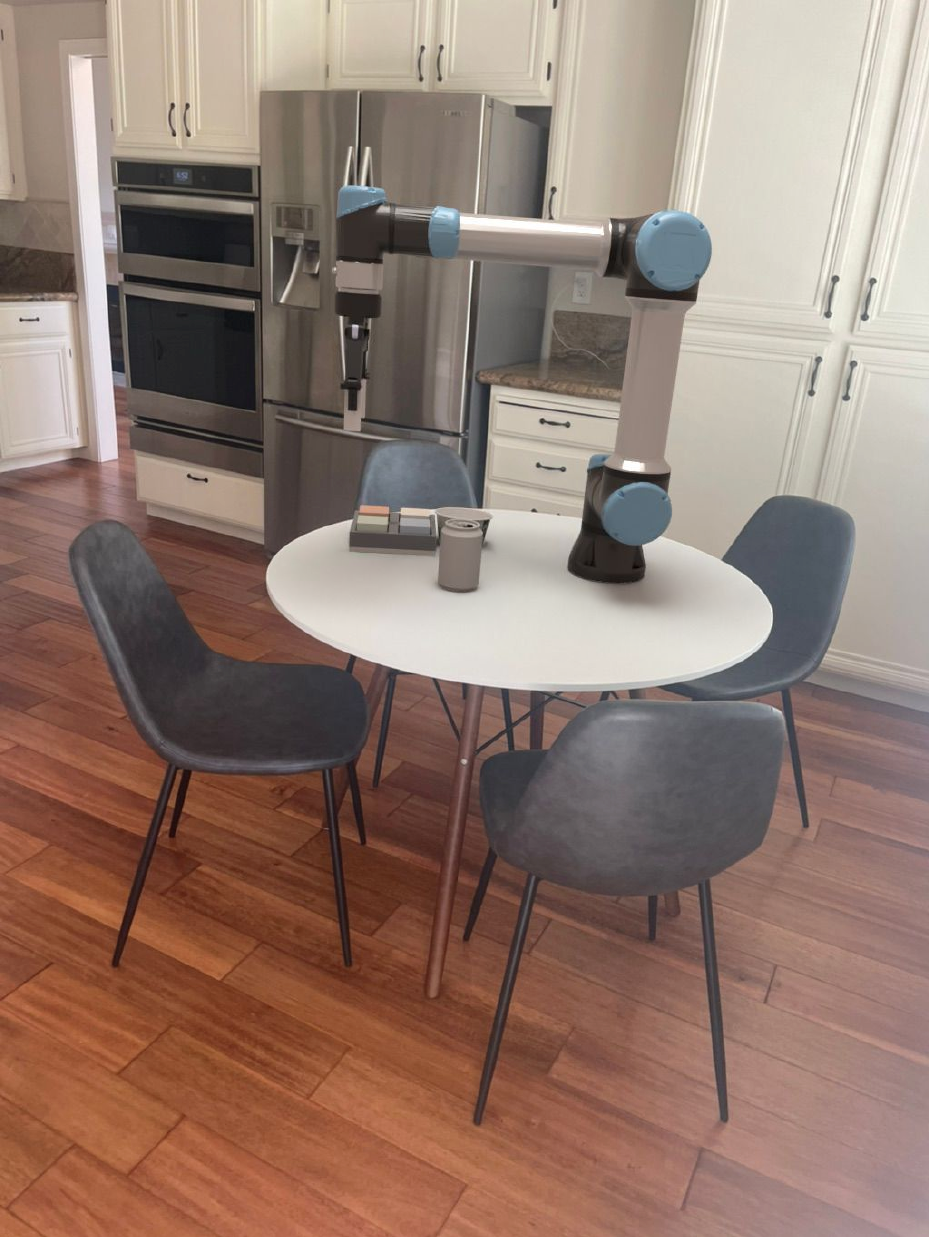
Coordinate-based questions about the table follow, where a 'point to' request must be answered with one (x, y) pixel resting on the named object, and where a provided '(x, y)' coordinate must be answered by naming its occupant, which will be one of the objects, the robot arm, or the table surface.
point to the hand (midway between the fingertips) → (354, 423)
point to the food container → (463, 517)
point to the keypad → (392, 539)
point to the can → (460, 555)
